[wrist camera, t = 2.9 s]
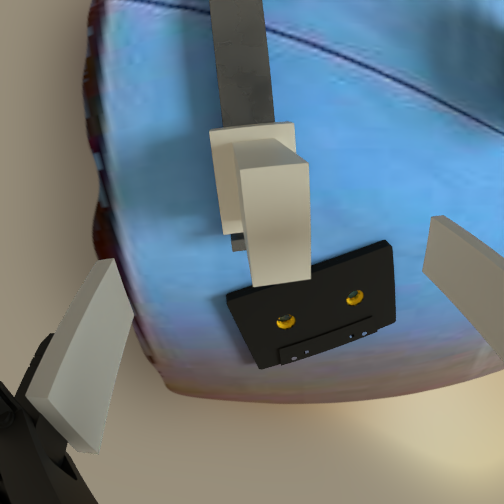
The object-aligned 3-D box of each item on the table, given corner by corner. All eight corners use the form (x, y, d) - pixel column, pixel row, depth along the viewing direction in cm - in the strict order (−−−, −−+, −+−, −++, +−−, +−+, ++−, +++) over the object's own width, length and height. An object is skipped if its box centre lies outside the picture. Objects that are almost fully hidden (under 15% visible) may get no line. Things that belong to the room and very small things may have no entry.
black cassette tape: (257, 359, 38) (260, 371, 36) (225, 291, 32) (225, 303, 30) (389, 312, 37) (396, 323, 35) (384, 236, 31) (393, 245, 29)
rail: (201, -22, 17) (198, -37, 14) (260, -26, 18) (266, -42, 15) (231, 234, 29) (232, 251, 26) (284, 227, 29) (292, 244, 26)
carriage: (210, 129, 22) (201, 151, 12) (288, 121, 22) (339, 139, 13) (223, 224, 26) (226, 306, 16) (293, 215, 26) (337, 290, 16)
